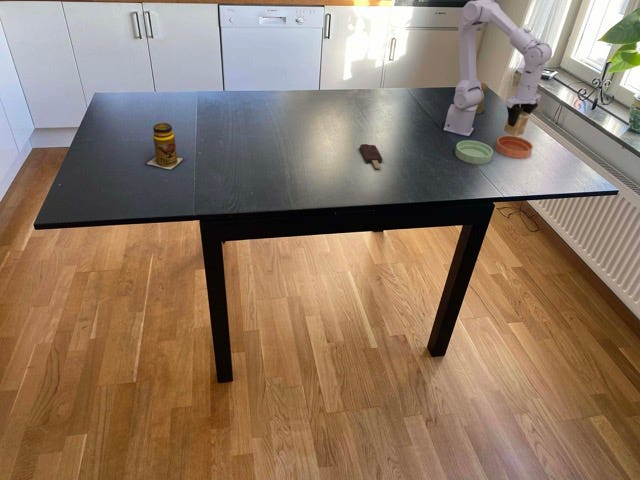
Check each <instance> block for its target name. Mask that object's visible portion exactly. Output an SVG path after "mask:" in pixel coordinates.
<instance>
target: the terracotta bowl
mask: <svg viewBox="0 0 640 480" xmlns="http://www.w3.org/2000/svg"><path fill="white" fill-rule="evenodd" d="M533 148H534V146H533V144H532V143H531V142H530V141H529V140H527V139H524V138H522V137H519V136H512V135H502V136H499V137H497V139H496V142H495V144H494V149H495V151H496V152H498V153H499V154H500V155H503V156H504V157H506V158H507V157H508V158H511V159H519V160H523V159H527V158H529V157H530V156H531V154H532V151H533Z"/></svg>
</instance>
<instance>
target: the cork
mask: <svg viewBox="0 0 640 480" xmlns="http://www.w3.org/2000/svg"><path fill="white" fill-rule="evenodd" d="M480 83H481V89H482V91H483V95H484V97H483V100H482V102H481V103H480V104H478V107H477V109H476V113H475V115H479V114H482V113H483V112H484V105H485V98H486V97H485V96H486V93H487V91H488V89H489V86H488V84H487V83H484V82H480Z"/></svg>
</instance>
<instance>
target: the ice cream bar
mask: <svg viewBox="0 0 640 480" xmlns="http://www.w3.org/2000/svg"><path fill="white" fill-rule="evenodd" d="M359 151H360V153H361V155H362V157H363V159H364V161H365V163H367V164H371V163H372V164H373V167H374V168H375V169H376V170H380V169H381V165H380V163H382V162H383V156H382V155H381V153H380V151H379V149H378V148H377V146H376V144H368V143H363V144H362V143H361V144H360V145H359Z"/></svg>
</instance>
